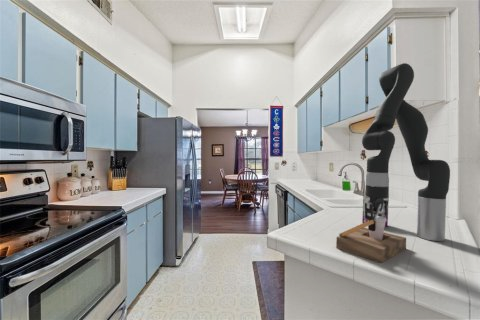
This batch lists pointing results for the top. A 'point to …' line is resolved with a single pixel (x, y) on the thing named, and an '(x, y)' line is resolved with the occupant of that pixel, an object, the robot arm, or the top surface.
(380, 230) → the smoothie
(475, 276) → the top surface
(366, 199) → the candy bar box
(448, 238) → the top surface
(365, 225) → the bar
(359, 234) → the socket block
